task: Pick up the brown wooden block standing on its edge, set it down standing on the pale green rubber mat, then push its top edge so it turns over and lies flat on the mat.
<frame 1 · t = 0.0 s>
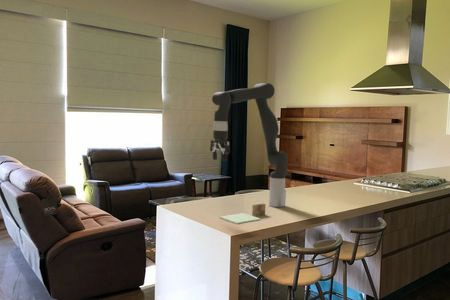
hand: (219, 160, 204), 29 cm above the countertop, tool pointing down, fingers open, 8 cm apart
brown wooden block: (258, 215, 207), on the countertop
mat: (240, 218, 198), on the countertop
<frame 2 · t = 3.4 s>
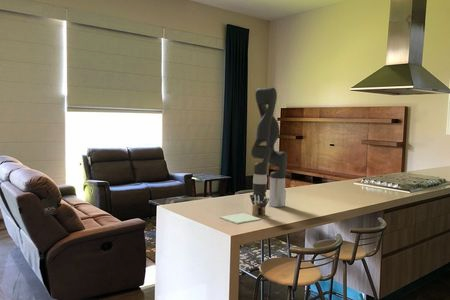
hand: (258, 214, 207), 1 cm above the countertop, tool pointing down, fingers closed on brown wooden block, 1 cm apart
brown wooden block: (258, 215, 207), on the countertop, touching gripper
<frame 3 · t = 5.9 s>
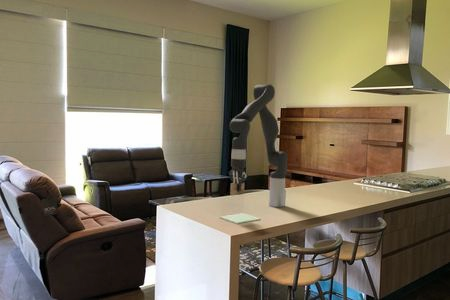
hand: (237, 191, 199), 14 cm above the countertop, tool pointing down, fingers closed on brown wooden block, 1 cm apart
brown wooden block: (237, 194, 199), point 12 cm above the countertop, touching gripper
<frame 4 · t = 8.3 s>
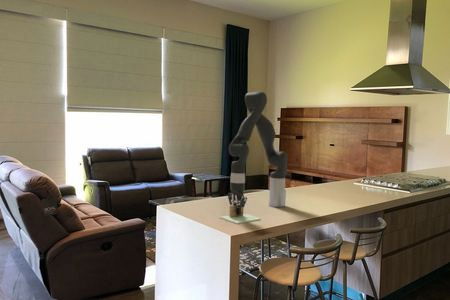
hand: (236, 214, 200), 2 cm above the countertop, tool pointing down, fingers closed
brown wooden block: (236, 216, 200), point 1 cm above the countertop, touching mat
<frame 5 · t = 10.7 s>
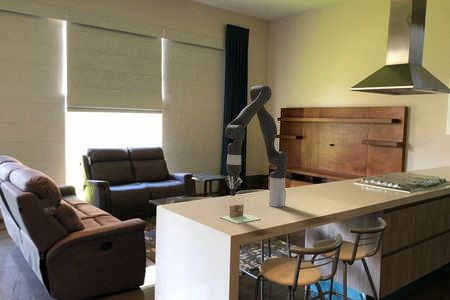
hand: (232, 195, 202), 11 cm above the countertop, tool pointing down, fingers closed
nothing on the countertop moved.
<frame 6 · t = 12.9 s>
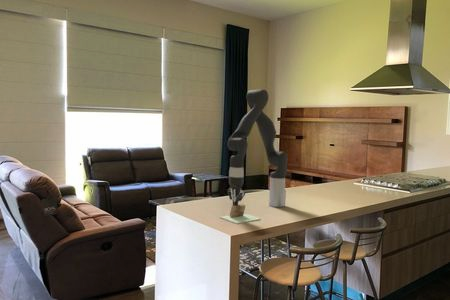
hand: (235, 208, 200), 5 cm above the countertop, tool pointing down, fingers closed
brown wooden block: (236, 216, 200), point 1 cm above the countertop, tilted 16°, touching mat
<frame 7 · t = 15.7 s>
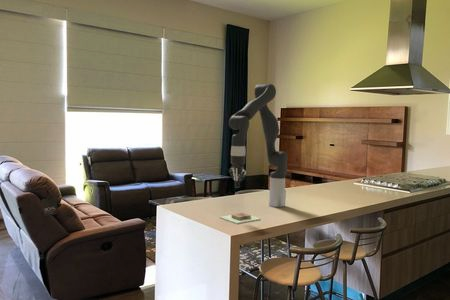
hand: (237, 187, 199), 16 cm above the countertop, tool pointing down, fingers closed
brown wooden block: (237, 215, 199), point 1 cm above the countertop, tilted 90°, touching mat
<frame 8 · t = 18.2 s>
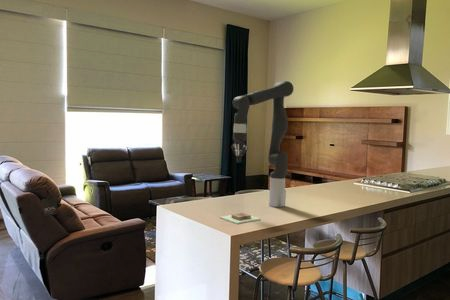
hand: (238, 162, 218), 27 cm above the countertop, tool pointing down, fingers closed
nothing on the countertop moved.
at the end: brown wooden block tilted 90°; brown wooden block inside the target area (2.1 cm from its centre), point 1.4 cm above the countertop; the gripper is holding nothing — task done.
